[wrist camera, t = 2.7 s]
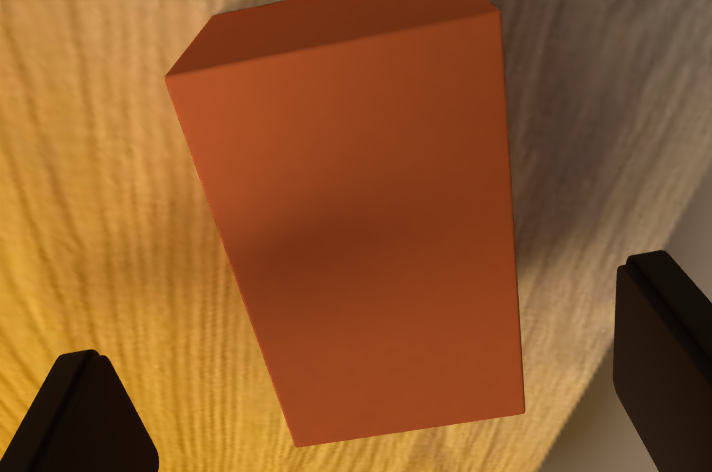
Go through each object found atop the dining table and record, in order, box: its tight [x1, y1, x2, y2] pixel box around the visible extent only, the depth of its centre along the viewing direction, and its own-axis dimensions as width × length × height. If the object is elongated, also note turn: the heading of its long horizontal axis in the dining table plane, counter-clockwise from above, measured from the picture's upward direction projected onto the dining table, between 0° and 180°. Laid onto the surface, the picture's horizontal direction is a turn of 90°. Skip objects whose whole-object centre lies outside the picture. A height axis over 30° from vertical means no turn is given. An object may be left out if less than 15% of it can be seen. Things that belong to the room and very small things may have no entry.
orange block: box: [165, 0, 525, 447], centre depth 15 cm, size 6×10×5 cm, turn 11°
